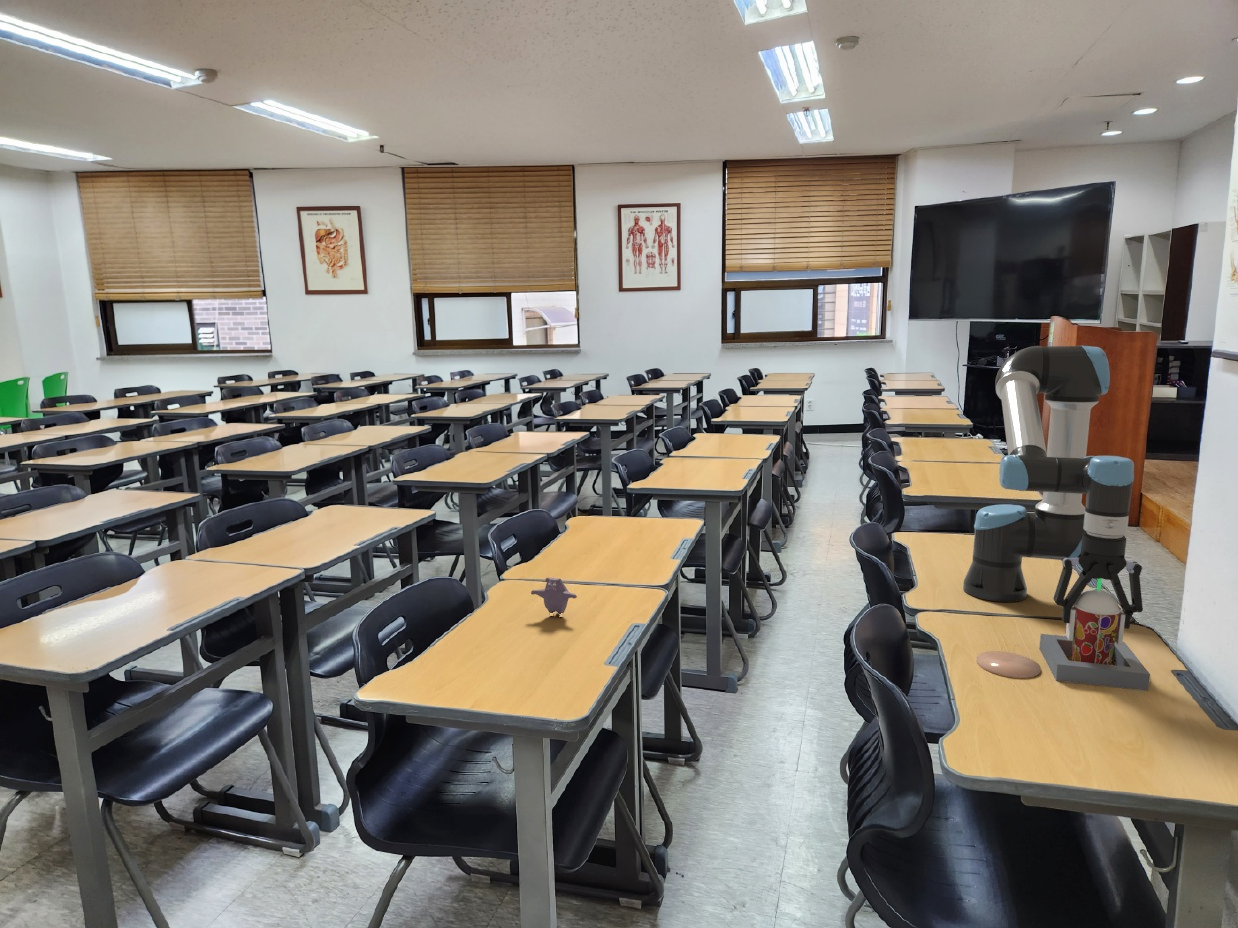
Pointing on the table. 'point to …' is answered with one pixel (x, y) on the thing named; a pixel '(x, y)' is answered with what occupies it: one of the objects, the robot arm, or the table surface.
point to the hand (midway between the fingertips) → (1093, 639)
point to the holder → (1094, 665)
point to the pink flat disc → (1008, 664)
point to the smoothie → (1095, 626)
